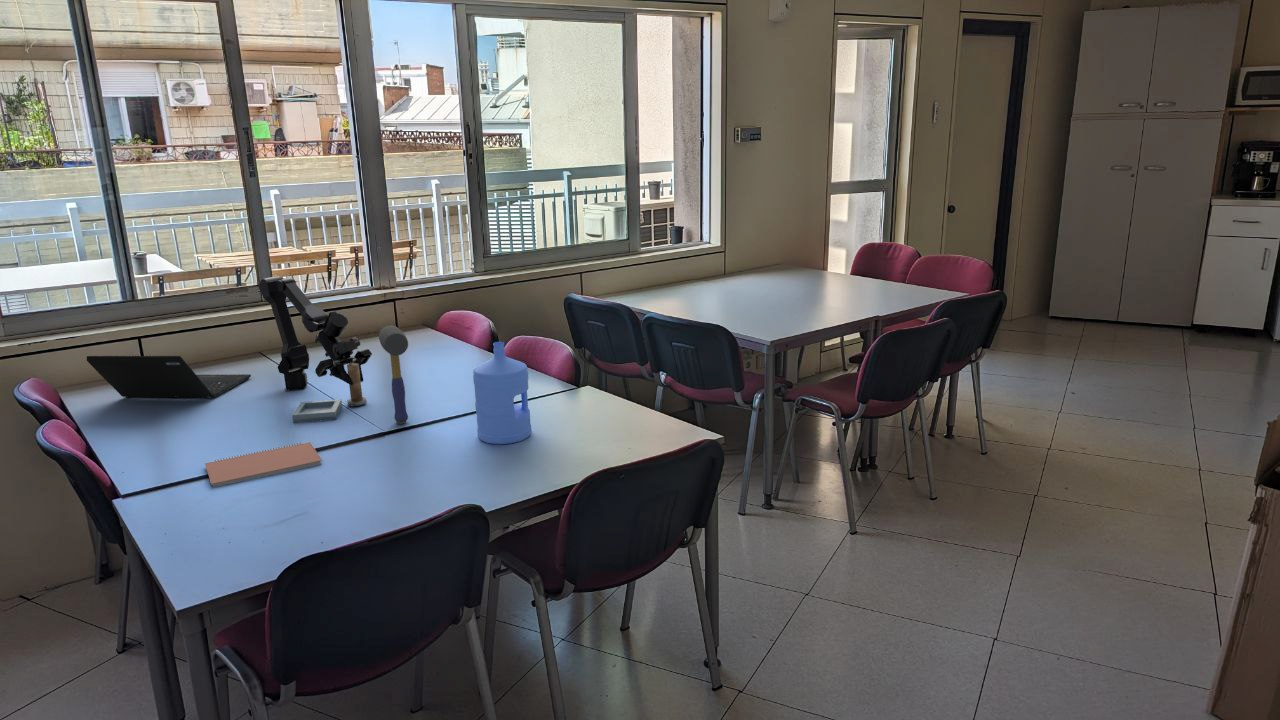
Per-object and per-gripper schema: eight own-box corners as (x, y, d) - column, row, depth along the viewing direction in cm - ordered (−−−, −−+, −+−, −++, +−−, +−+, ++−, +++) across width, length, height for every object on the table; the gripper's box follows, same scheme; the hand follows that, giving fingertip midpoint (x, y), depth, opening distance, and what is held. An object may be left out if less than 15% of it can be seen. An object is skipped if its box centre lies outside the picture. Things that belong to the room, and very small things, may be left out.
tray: (293, 422, 260) (292, 415, 259) (301, 409, 272) (300, 402, 271) (335, 419, 262) (334, 411, 262) (342, 406, 274) (341, 399, 273)
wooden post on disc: (346, 406, 272) (341, 368, 268) (349, 400, 278) (344, 362, 274) (365, 405, 273) (361, 366, 269) (367, 399, 279) (363, 361, 275)
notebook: (310, 446, 242) (309, 439, 241) (322, 465, 228) (321, 459, 228) (205, 467, 228) (204, 461, 228) (212, 489, 215) (211, 482, 214)
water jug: (480, 448, 237) (473, 352, 229) (475, 429, 252) (468, 339, 244) (535, 441, 241) (530, 347, 233) (527, 423, 256) (522, 334, 248)
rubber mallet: (386, 418, 262) (375, 325, 254) (410, 414, 265) (401, 322, 257) (392, 431, 251) (382, 334, 243) (418, 427, 254) (408, 331, 246)
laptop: (253, 379, 307) (245, 327, 301) (190, 414, 271) (180, 356, 265) (167, 378, 310) (158, 327, 304) (94, 412, 274) (82, 355, 269)
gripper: (316, 337, 264) (342, 376, 261) (365, 324, 278) (390, 361, 275) (304, 357, 270) (329, 395, 267) (353, 344, 285) (377, 380, 282)
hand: (357, 382), depth 273 cm, fingers closed on wooden post on disc, 4 cm apart
